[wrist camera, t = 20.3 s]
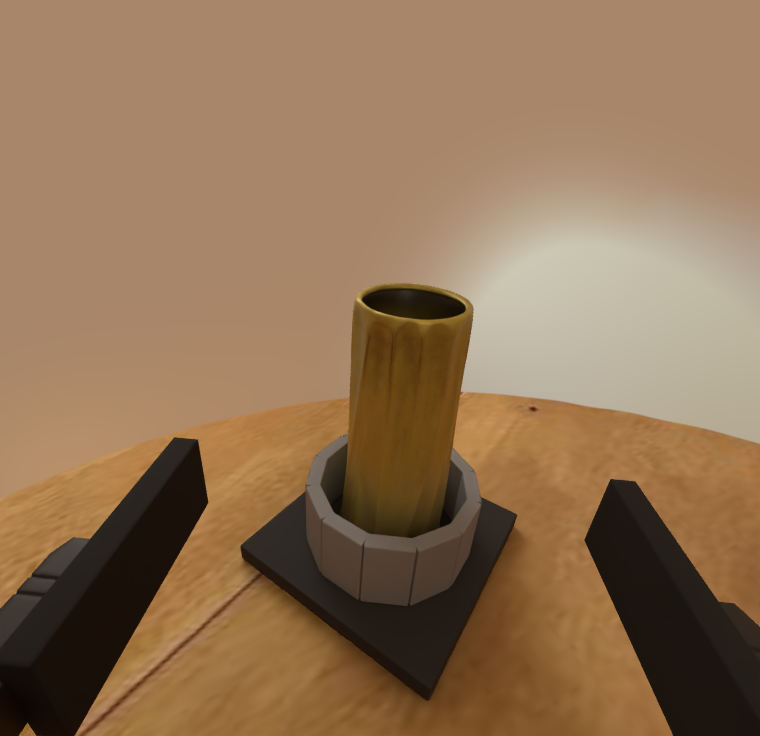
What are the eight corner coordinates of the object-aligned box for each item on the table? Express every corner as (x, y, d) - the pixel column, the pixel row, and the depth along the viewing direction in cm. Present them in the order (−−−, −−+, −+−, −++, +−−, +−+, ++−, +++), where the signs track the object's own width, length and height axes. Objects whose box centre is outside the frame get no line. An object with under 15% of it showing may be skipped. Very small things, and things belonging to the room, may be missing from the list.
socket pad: (241, 557, 24) (233, 491, 21) (364, 451, 33) (368, 397, 30) (428, 702, 18) (444, 633, 16) (514, 525, 27) (532, 465, 25)
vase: (323, 560, 23) (325, 312, 16) (352, 483, 28) (363, 274, 21) (435, 587, 22) (486, 335, 15) (443, 502, 27) (483, 289, 20)
